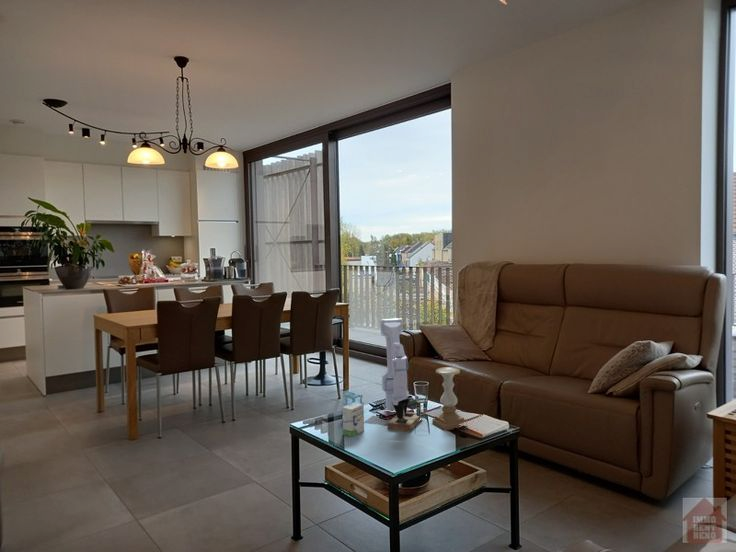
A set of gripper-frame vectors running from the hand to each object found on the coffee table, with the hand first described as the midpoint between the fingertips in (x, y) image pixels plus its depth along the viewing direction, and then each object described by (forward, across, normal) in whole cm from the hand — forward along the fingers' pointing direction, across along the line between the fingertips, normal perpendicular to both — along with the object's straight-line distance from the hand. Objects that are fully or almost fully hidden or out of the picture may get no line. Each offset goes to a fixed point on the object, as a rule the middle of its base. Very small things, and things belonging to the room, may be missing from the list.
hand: (401, 416), depth 226 cm
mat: (+5, -5, -13) cm, 15 cm away
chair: (+5, -5, -25) cm, 26 cm away
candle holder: (+5, -10, +18) cm, 21 cm away
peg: (+3, 0, 0) cm, 3 cm away
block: (+5, -4, 0) cm, 6 cm away
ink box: (+5, +12, -17) cm, 21 cm away
